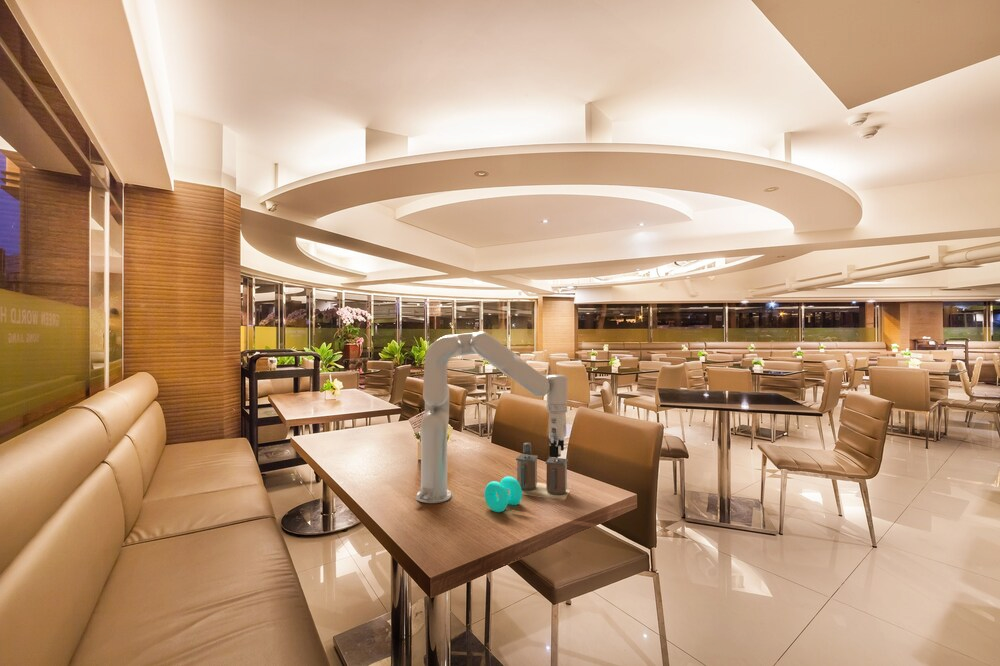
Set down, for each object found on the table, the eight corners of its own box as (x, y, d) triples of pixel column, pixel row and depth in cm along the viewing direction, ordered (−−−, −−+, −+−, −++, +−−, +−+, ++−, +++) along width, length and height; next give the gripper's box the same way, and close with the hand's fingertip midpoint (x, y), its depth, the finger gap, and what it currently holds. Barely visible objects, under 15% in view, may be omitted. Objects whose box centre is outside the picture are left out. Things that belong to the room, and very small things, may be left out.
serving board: (564, 503, 146) (564, 500, 146) (511, 495, 153) (511, 492, 153) (571, 489, 159) (571, 486, 159) (522, 483, 166) (522, 480, 166)
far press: (531, 494, 152) (531, 448, 152) (513, 491, 154) (513, 446, 154) (538, 485, 160) (538, 442, 161) (520, 483, 163) (521, 440, 163)
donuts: (523, 508, 142) (523, 479, 142) (503, 517, 135) (503, 486, 135) (502, 500, 149) (503, 472, 149) (482, 508, 142) (482, 479, 142)
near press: (562, 498, 148) (562, 466, 148) (543, 495, 150) (543, 463, 150) (567, 489, 156) (567, 458, 157) (549, 487, 159) (549, 456, 159)
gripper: (562, 412, 145) (561, 461, 145) (571, 404, 161) (571, 448, 161) (541, 410, 148) (541, 458, 148) (552, 403, 164) (552, 446, 164)
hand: (556, 453), depth 154 cm, fingers open, 9 cm apart
